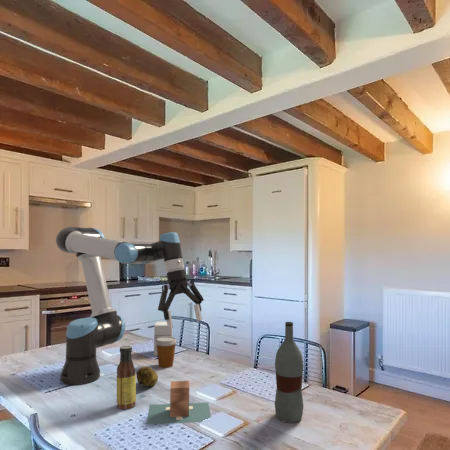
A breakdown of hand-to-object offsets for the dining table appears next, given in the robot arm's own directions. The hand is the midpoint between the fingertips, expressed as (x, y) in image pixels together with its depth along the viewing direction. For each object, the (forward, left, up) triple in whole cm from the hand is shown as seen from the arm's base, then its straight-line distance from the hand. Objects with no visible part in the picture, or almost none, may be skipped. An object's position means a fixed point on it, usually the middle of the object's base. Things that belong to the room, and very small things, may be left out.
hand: (185, 324), depth 147 cm
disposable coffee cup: (-8, +26, -24) cm, 36 cm away
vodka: (+33, -29, -24) cm, 50 cm away
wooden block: (-2, -23, -24) cm, 33 cm away
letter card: (-2, -23, -24) cm, 33 cm away
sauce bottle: (-20, -16, -24) cm, 35 cm away
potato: (-14, +2, -24) cm, 28 cm away
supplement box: (-10, +46, -24) cm, 53 cm away
